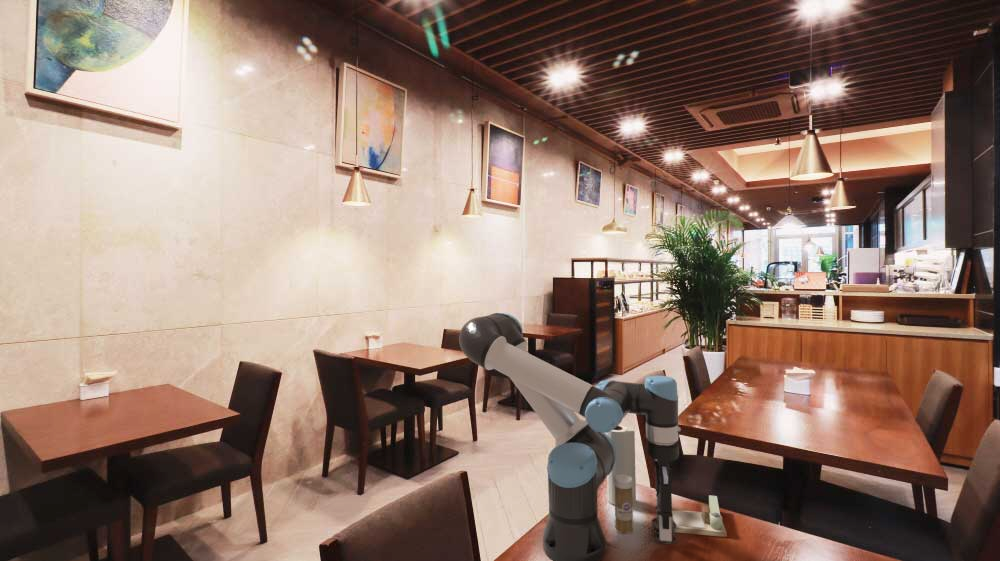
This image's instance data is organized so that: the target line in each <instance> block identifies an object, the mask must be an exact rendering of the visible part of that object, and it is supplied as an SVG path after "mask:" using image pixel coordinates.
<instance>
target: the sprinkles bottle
mask: <svg viewBox="0 0 1000 561" xmlns="http://www.w3.org/2000/svg"><path fill="white" fill-rule="evenodd" d="M614 485H615V505H614V516H615V517H614V518H615V525H614V528H615V530H616V531H617V532H618V533H621V534H630V533H633V531H634V527H633V526H634V524H633V523H634V522H633V516H634V514H633V513H634V510H633V509H634V508H633V507H634V506H633V505H634V504H632V486H633V482H632V478H631V477H630V476H627V475H616V476H615V477H614Z"/></svg>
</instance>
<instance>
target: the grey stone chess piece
mask: <svg viewBox="0 0 1000 561" xmlns="http://www.w3.org/2000/svg"><path fill="white" fill-rule="evenodd" d="M655 509H656V512H657V511H658V512H659V511H660V501H659V494H658V496H656V506H655ZM651 525H652V528H653V530H654V533H653V534H652V537H653V539H654V540H655V541H656V542H658V543H660V544H664V545H670V544H674V543H675V542H676V537H675V535H674V533H675V528H676V527H677V526H676V523H675V522H674V521H673V520H672V519H671V530H672V541H663V540H660V535H659V515H657V514H656V517H655V518H652V519H651Z"/></svg>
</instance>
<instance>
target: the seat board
mask: <svg viewBox="0 0 1000 561" xmlns="http://www.w3.org/2000/svg"><path fill="white" fill-rule="evenodd" d="M672 514H673V516H672V517H671V520H673V521H674V522H675V523H676V526H677V527H676V528H675V531H674V533H681V534H690V535H700V536H702V535H703V536H711V537H720V538H721V537H723V538H727V537H728V535H727V534H728V533H727V530H726V527H725V525H724V523H723V521H722V528H721V529H715V528H712V527H711V526H710V509H709V507H708V505H701V511H694V510H683V509H673V508H672Z"/></svg>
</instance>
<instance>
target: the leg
mask: <svg viewBox="0 0 1000 561" xmlns="http://www.w3.org/2000/svg"><path fill="white" fill-rule="evenodd" d="M708 506H709V507H708V508H709V512H710V526H711V527H712V528H715V529H721V528H722V522H723V516H722V515H721V513H720V507H719V501H718V496H717V495H711V494H710V495H708Z"/></svg>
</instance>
